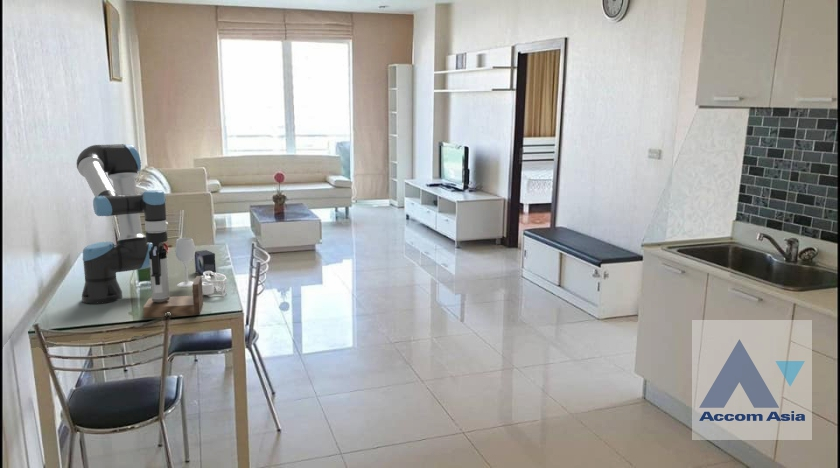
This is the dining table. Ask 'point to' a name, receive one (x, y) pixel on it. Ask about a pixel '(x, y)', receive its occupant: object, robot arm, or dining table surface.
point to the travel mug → (165, 284)
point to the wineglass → (185, 256)
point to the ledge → (177, 303)
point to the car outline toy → (209, 285)
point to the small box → (204, 262)
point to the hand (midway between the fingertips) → (160, 290)
